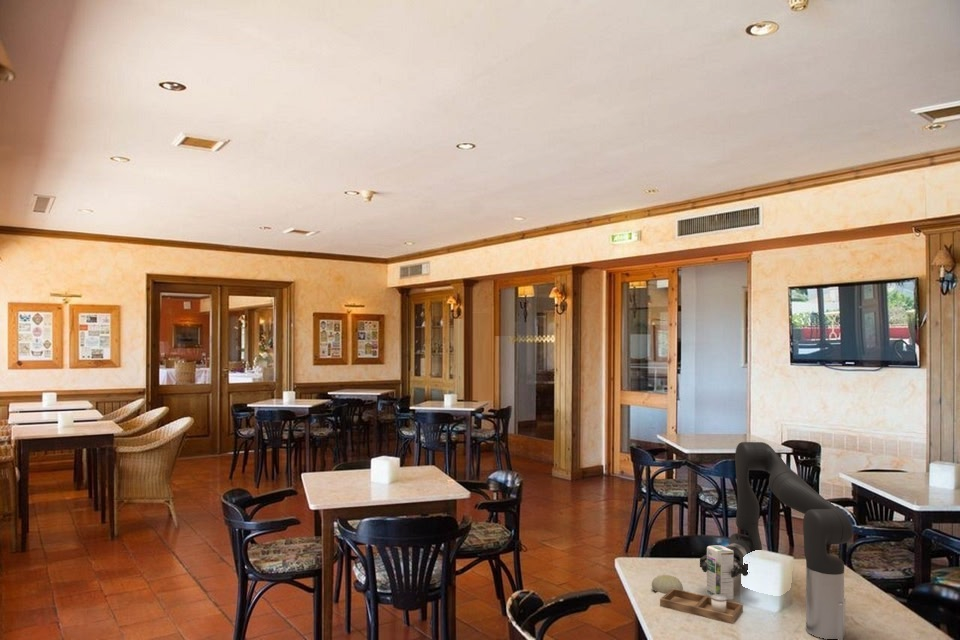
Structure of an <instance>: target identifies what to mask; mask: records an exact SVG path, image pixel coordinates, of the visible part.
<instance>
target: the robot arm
mask: <svg viewBox="0 0 960 640" xmlns="http://www.w3.org/2000/svg"><path fill="white" fill-rule="evenodd" d="M734 456H735V458H734V459H735V460H734V461H735V476H736V477H735V478H736V479H735V480H736V489H737V507H736V518H735V524H736V527H737V528H738V529H740V530H741V531H743V532H745V533H746V534H748V535H746V534H742V533H737V532H735V533H732V534H731V535H730V537H729V540H728V544H727V545H726V546H725V547H726V548H728V549H730V550H733V551H734V554H733V555H734V557H733V561H734V562H733V566H734V567H733V569H732V570H731V577H732V578H733V579H734V578H735V577H739V576H741V575H742V576H743V577H747V576H748V575H749V574H748V572H747V570H748V564H745V563H744V565H743V557H744V556H745V555H746V554H748V553H750V552H752V551H755V550H762V551H763V546H762V540H761V536H760V529H759V522H760V521H759V519H760V504H759V503H760V502H759V500H758V498H757V496H756V494H755V492H754V491H753V488H752V486H751V484H750V480H749V479H750V477H749V474H750V471H763V472H767V473H768V474H769V479H768V484H769V485H768V486H769V489H770V491H771V492H772V493H773V495H774V496H775V497H776V498H777V499H778V500H779V501H780V502H781V503H782V504H783V505H785V506H787V507H788V508H790V509H792V510H794V511H796V512H799V513H801V514H804V515H803V521H802V531H803V532H802V533H803V553H804V557H805V563H806V564H805V565H806V568H805V569H806V570H805V571H806V572H805V577H806V578H805V631H806V632H807V633H808V634H809V635H811V634H812V635H811V636H813V635H814V636H813V637H816V638H819V637H820V639H822V638H824V640H827V639H839V640H844V639H843V638H845V636H844V635H846V598H845V562H844V561H843V560H842V559H841V558H839V557H838V556H835V555H832V554H830V553H828V552H827V545H843V544H847V543H848V542H850V541H851V540H852V538H853V536H854V527H853V524H852V523H851V520H850V519H849V517H848V515H846V513H845V512H844V511H842V510H841V509H840V508H838V507H837V506H835V505H834V504H833V503H831V502H830V501H828V500H827V499H826V498H824V497H823V496H822V495H821V494H819V493H818V492H817V491H816V490H815V489H814V488H812V486H810V485H809V484H808V483H807V482H806V481H805V480H804V479H803V478H802V477H801V476H800V475H799V474H797V473H796V472H795V471H794V470H792V468H791V467H790V466H788V464H787V463H785V461H783V460H782V458H781V457H780V456H779V454H778V453H777V452H776V451H775V450H774V448H772V446H770V444H768V443H766V442H762V441H742V442H739V443H738V444H737V445H736V448H735V455H734ZM699 567H700V568H701V571H702V572H703V573H707V554H704V555H703V556H702V557H700V558H699Z"/></svg>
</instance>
